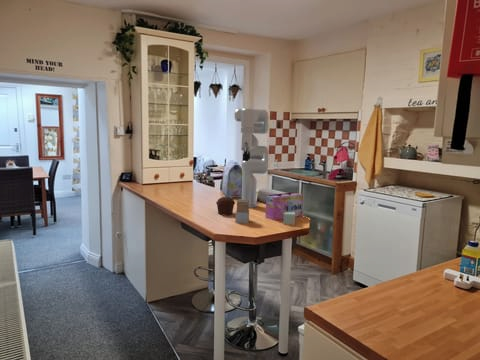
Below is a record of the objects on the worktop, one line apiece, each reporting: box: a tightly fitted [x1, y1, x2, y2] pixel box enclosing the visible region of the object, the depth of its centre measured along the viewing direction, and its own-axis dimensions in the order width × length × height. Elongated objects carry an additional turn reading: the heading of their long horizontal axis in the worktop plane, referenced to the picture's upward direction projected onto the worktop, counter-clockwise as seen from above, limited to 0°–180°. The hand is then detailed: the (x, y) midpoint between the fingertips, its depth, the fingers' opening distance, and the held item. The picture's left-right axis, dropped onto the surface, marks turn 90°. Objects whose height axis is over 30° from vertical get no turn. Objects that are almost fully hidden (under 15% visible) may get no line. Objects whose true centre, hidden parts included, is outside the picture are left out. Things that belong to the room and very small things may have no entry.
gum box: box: [265, 191, 304, 221], centre depth 216 cm, size 24×8×14 cm, turn 124°
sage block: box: [282, 211, 296, 226], centre depth 202 cm, size 6×6×6 cm
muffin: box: [215, 196, 236, 216], centre depth 219 cm, size 12×11×10 cm
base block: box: [234, 209, 250, 224], centre depth 202 cm, size 7×7×6 cm
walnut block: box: [236, 198, 250, 213], centre depth 202 cm, size 6×6×6 cm
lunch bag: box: [221, 159, 242, 199], centre depth 274 cm, size 22×17×26 cm
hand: (246, 160), depth 210 cm, fingers open, 9 cm apart
